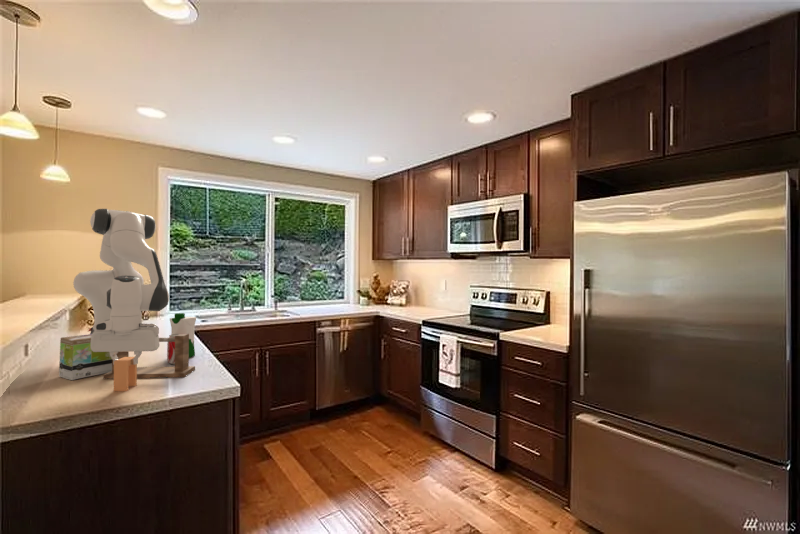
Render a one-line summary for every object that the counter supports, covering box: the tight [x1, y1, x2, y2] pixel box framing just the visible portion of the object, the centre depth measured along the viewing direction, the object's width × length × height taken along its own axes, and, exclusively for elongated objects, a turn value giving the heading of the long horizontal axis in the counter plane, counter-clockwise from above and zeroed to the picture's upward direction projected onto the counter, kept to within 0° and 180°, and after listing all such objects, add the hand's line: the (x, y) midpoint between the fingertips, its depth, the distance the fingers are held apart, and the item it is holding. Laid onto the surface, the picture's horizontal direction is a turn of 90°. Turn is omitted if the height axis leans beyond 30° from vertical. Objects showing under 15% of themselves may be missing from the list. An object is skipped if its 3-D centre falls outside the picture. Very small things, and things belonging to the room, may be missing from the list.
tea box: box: [58, 333, 112, 381], centre depth 148 cm, size 15×10×15 cm, turn 153°
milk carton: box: [169, 312, 197, 358], centre depth 176 cm, size 9×9×20 cm
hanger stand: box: [102, 334, 196, 380], centre depth 148 cm, size 28×10×15 cm, turn 97°
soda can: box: [166, 334, 179, 365], centre depth 166 cm, size 7×7×12 cm
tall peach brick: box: [113, 356, 138, 392], centre depth 132 cm, size 4×6×10 cm, turn 7°
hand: (125, 364), depth 132 cm, fingers closed on tall peach brick, 4 cm apart
